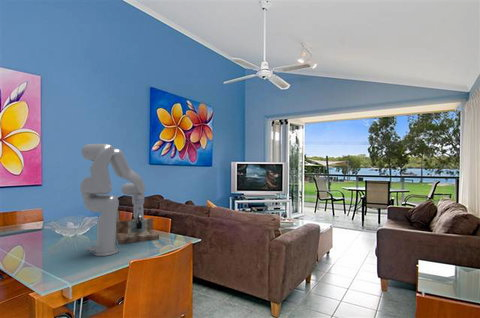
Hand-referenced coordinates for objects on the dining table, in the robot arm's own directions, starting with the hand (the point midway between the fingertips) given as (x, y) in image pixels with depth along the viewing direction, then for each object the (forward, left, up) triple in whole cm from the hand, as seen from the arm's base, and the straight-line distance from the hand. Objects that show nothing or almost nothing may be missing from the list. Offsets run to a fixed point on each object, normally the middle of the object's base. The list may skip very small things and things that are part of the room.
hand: (137, 227), depth 177 cm
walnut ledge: (0, +2, -7) cm, 8 cm away
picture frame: (0, 0, -5) cm, 5 cm away
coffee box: (-14, +22, -8) cm, 27 cm away
